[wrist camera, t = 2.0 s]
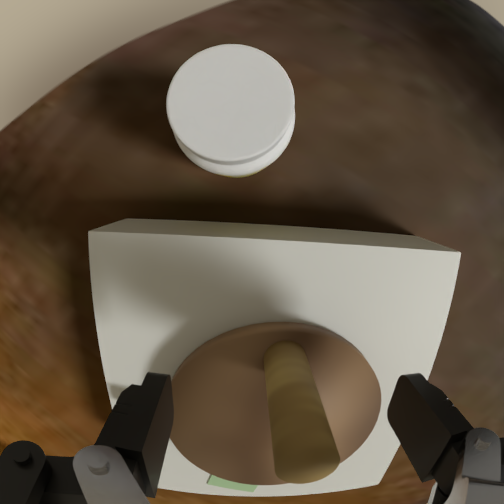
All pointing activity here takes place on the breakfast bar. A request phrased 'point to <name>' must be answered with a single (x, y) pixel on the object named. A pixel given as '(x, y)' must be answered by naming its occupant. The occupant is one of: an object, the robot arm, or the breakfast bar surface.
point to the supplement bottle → (231, 109)
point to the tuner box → (267, 312)
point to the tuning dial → (273, 403)
